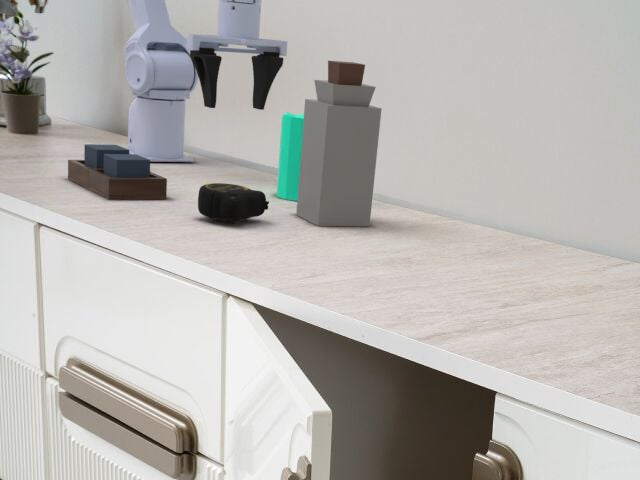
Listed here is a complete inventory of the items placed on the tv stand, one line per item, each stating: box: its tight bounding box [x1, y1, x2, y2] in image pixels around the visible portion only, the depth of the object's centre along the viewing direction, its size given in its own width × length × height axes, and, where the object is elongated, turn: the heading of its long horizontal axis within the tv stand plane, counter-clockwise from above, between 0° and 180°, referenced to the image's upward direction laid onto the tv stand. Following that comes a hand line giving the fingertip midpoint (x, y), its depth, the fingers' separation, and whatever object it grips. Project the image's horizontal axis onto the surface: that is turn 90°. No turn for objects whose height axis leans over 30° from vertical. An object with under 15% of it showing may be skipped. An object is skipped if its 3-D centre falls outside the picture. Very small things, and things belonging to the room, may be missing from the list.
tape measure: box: [197, 182, 270, 224], centre depth 130 cm, size 7×7×4 cm
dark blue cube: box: [104, 154, 151, 178], centre depth 140 cm, size 4×4×4 cm
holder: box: [67, 159, 168, 201], centre depth 143 cm, size 14×8×2 cm, turn 31°
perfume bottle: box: [295, 60, 382, 227], centre depth 133 cm, size 7×7×18 cm
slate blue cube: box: [83, 143, 129, 168], centre depth 145 cm, size 4×4×4 cm
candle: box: [276, 112, 304, 202], centre depth 147 cm, size 6×6×12 cm
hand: (234, 108), depth 157 cm, fingers open, 7 cm apart
